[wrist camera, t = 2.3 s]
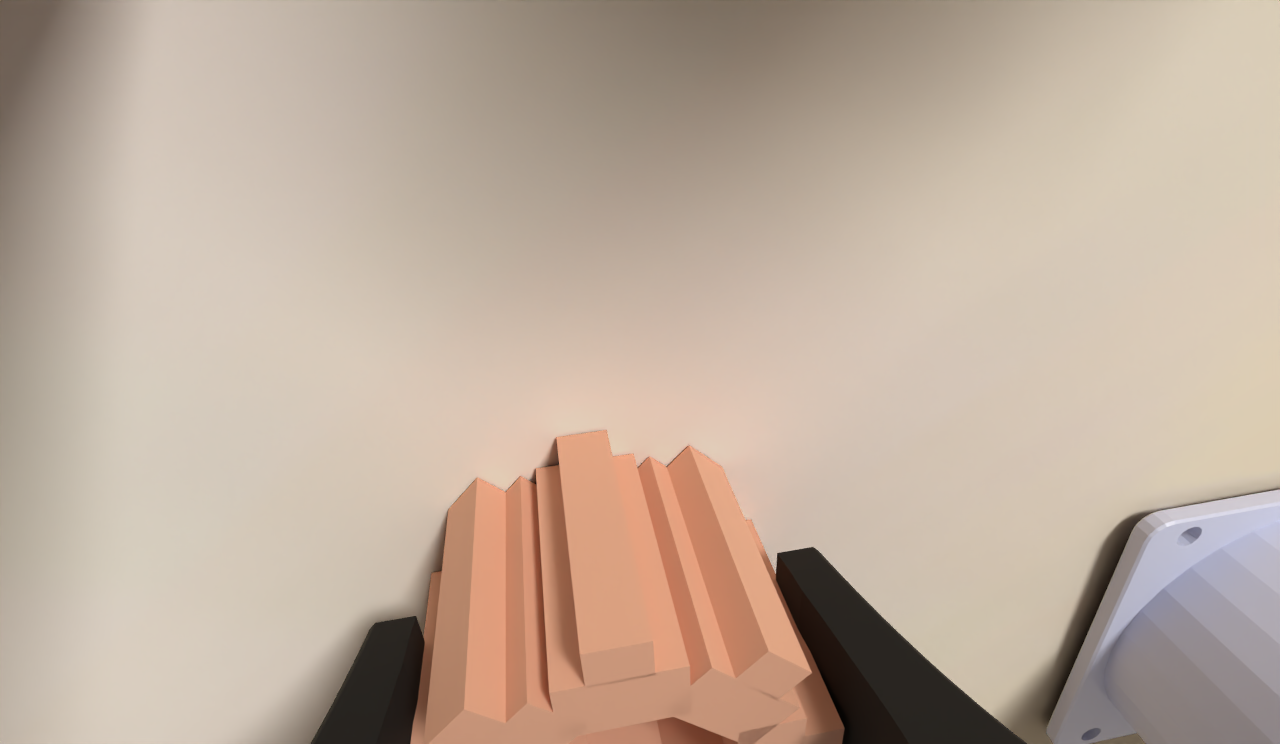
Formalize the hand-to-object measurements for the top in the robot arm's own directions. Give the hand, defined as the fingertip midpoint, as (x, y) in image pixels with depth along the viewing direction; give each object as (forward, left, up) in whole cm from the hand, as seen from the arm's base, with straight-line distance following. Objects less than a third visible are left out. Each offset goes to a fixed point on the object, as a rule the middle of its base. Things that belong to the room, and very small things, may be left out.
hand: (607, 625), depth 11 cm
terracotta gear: (0, 0, -1) cm, 1 cm away
